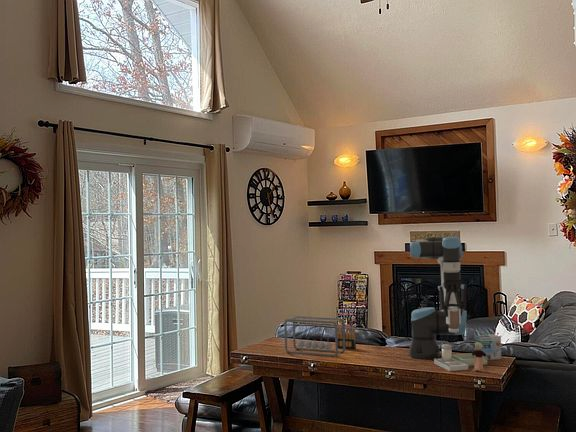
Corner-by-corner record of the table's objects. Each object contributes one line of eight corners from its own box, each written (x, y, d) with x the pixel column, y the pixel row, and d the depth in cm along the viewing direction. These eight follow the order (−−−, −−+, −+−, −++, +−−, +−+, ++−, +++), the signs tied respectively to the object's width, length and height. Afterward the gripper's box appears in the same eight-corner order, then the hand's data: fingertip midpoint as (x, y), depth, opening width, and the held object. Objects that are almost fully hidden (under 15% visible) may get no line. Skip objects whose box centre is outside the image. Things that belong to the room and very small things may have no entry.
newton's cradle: (284, 353, 330) (283, 318, 330) (294, 349, 339) (293, 315, 339) (337, 357, 315) (336, 321, 315) (345, 353, 324) (344, 318, 325)
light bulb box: (481, 360, 298) (481, 337, 298) (474, 357, 305) (473, 335, 305) (502, 358, 301) (501, 336, 301) (494, 356, 307) (493, 333, 307)
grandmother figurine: (469, 371, 278) (468, 342, 278) (471, 369, 281) (470, 340, 282) (487, 372, 274) (486, 343, 274) (489, 370, 278) (488, 342, 278)
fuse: (440, 363, 294) (439, 344, 294) (449, 363, 295) (448, 343, 295) (444, 366, 290) (444, 346, 290) (453, 365, 290) (453, 345, 290)
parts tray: (451, 361, 299) (451, 354, 299) (474, 359, 301) (474, 352, 301) (463, 366, 287) (462, 359, 287) (487, 364, 290) (487, 358, 290)
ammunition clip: (336, 348, 338) (335, 325, 338) (337, 347, 340) (336, 325, 340) (354, 349, 333) (354, 326, 333) (356, 348, 335) (355, 325, 335)
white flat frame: (434, 363, 295) (434, 357, 295) (452, 362, 297) (452, 356, 297) (449, 371, 279) (449, 365, 279) (468, 369, 281) (468, 363, 281)
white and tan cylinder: (447, 331, 286) (446, 306, 286) (456, 330, 287) (455, 306, 287) (451, 332, 282) (450, 308, 282) (460, 332, 283) (459, 307, 283)
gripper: (437, 273, 279) (439, 326, 279) (473, 271, 283) (475, 323, 283) (430, 271, 287) (431, 323, 287) (465, 270, 290) (467, 321, 290)
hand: (453, 323), depth 285 cm, fingers closed on white and tan cylinder, 4 cm apart
